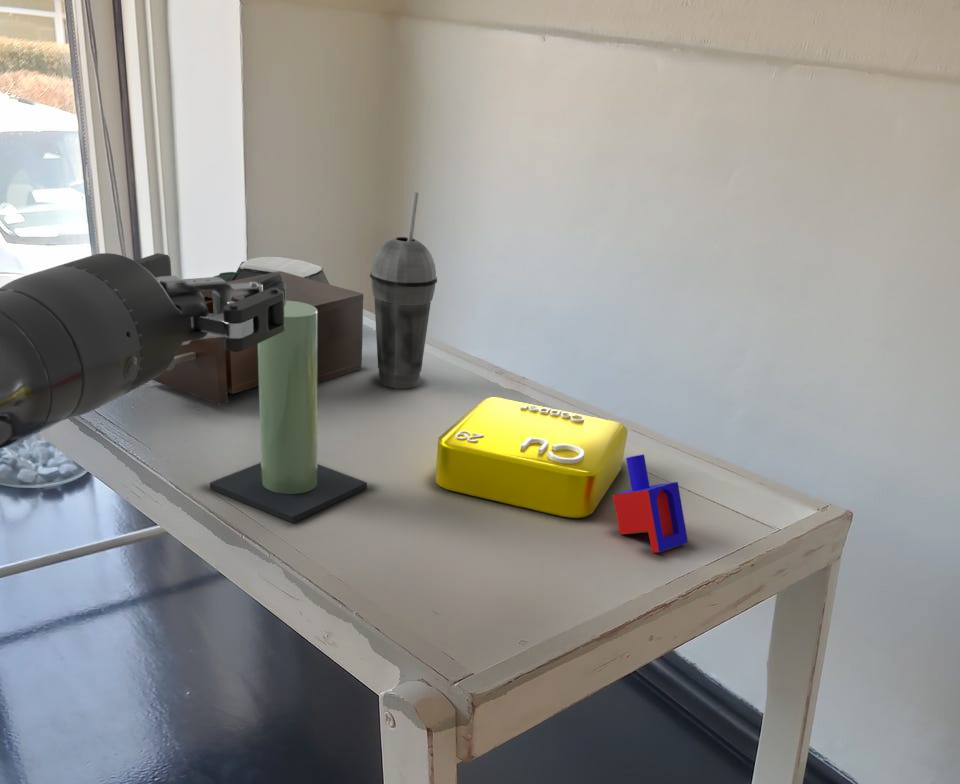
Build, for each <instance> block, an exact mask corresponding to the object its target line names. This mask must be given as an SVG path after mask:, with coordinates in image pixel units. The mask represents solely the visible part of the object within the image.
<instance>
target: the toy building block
mask: <svg viewBox="0 0 960 784" xmlns="http://www.w3.org/2000/svg"><path fill="white" fill-rule="evenodd" d="M625 460H626V466H627V470H628V471H627V472H628V477H629V482H630V483H629V484H630V487H631V489H628V490H623V491H620V492H617V493H613V494H612V498H613V503H614V508H615V513H616V520H617V525H618V530H619V535H631V534H641V533H643V534H644V533H648V538H649V543H650V549H651V553H652V554H653V553H661V552H664V551H668V550H670V549H674V548H677V547H680V546H682V545H685V544H688V543H689V539H688V534H687V528H686V521H685V517H684V510H683V504H682V498H681V493H680V487H679V481H673V482H666V483H659V484H658V483H657V484H652V485H650V480H649V474H648V469H647V462H646V458H645V454H644V453H643V454H637V455H633V456H628V457H626V459H625Z"/></svg>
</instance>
